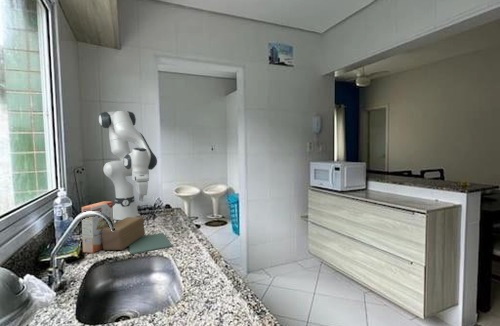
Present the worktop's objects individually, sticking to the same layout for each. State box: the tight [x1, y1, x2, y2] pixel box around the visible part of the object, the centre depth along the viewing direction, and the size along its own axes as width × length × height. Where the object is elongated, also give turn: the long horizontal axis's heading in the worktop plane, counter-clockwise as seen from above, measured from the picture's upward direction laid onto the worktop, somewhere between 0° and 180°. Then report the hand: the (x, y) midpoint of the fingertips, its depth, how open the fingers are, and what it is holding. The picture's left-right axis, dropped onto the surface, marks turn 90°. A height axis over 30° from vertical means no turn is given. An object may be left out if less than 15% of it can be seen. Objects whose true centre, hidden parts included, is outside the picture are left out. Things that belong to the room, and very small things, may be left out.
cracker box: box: [81, 200, 114, 254], centre depth 124 cm, size 14×6×21 cm, turn 171°
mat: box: [128, 232, 173, 255], centre depth 130 cm, size 22×18×1 cm
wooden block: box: [101, 216, 145, 251], centre depth 130 cm, size 10×10×20 cm
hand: (141, 200), depth 150 cm, fingers closed
